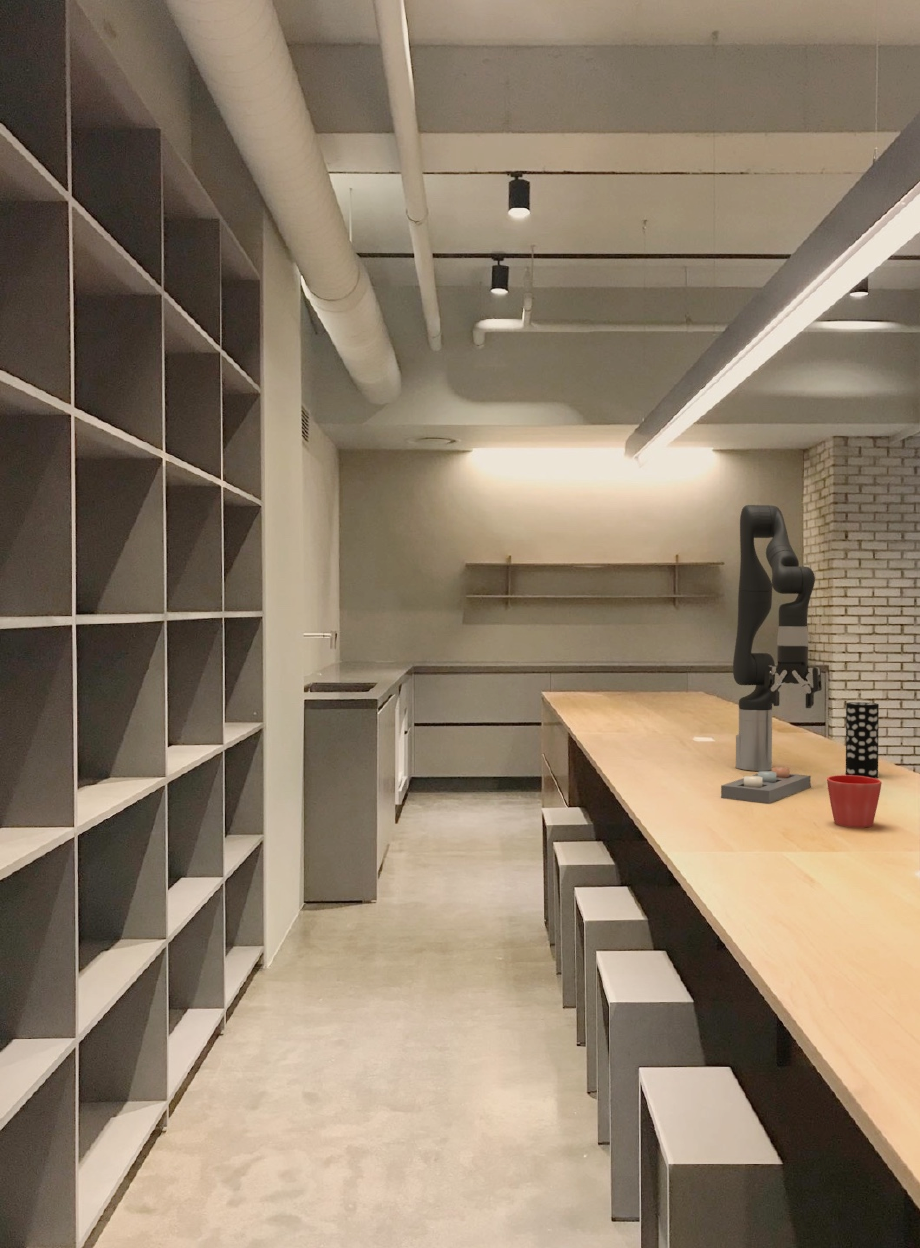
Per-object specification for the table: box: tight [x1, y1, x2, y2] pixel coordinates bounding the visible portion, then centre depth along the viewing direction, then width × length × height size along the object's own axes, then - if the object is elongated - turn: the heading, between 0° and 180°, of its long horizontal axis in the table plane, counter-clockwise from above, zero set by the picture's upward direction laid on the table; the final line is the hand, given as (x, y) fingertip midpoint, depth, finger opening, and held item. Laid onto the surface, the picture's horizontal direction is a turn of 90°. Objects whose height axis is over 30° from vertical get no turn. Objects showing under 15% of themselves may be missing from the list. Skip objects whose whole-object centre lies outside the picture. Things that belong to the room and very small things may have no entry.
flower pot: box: [826, 774, 883, 829], centre depth 220 cm, size 11×11×10 cm
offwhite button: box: [743, 775, 762, 788], centre depth 250 cm, size 4×4×3 cm
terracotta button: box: [771, 766, 791, 778], centre depth 265 cm, size 4×4×3 cm
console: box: [720, 773, 812, 804], centre depth 258 cm, size 12×28×3 cm, turn 142°
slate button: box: [757, 770, 776, 783], centre depth 258 cm, size 4×4×3 cm
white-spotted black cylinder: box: [845, 701, 880, 779], centre depth 282 cm, size 8×8×20 cm
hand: (792, 707), depth 264 cm, fingers open, 8 cm apart
